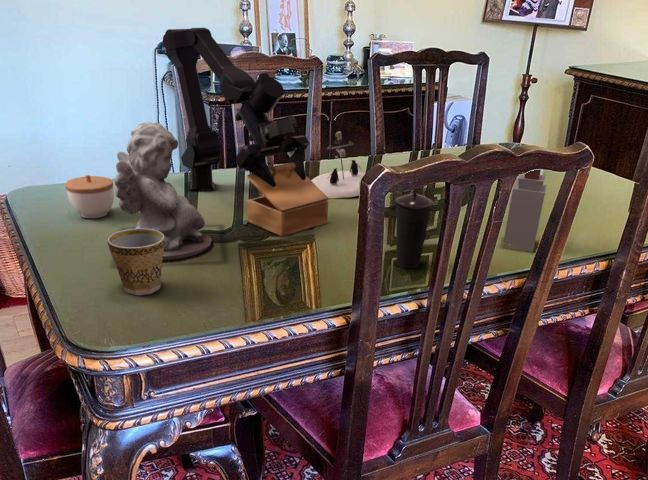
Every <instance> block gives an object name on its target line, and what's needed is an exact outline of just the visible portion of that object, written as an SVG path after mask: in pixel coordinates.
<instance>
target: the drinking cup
mask: <svg viewBox="0 0 648 480" xmlns="http://www.w3.org/2000/svg"><path fill="white" fill-rule="evenodd" d="M394 204H395V207H396V209H395V210H396V211H395V212H396V215H395V216H396V217H395V219H396V220H395V223H396V227H395V228H396V229H395V231H396V232H395V233H396V235H395V236H396V237H395V240H396V244H395V245H396V246H395V247H396V248H395V249H396V251H395V253H396V255H395V256H396V261H395V262H396V265H397V266H398V267H400V268H402V269H416V268H418V267H419V266H420V263H421V259H422V254H423V250H424V249H423V248H424V245H425V241H426V240H425V239H426V234H427V229H428V225H429V220H430V216H431V215H430V214H431V210H432V208H433V206H434V201H433V200H432V199H431V198H429V197H427V196H425V195H423V194H418V188H417V189H414V188H413V192H412V193H407V194H404V195H400V196H398V197H396V198H395V200H394Z"/></svg>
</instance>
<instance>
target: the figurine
mask: <svg viewBox="0 0 648 480" xmlns="http://www.w3.org/2000/svg"><path fill="white" fill-rule="evenodd" d="M334 136H335V137H336V138H335V145H336V144H338V145H337V146H331V145H328V146H327V145H325V144H322V146H323V147H324V148H326V151H330V150H335V151H336V152H337V153H338V154H339V157H340V165H341V170H340V171H338V168H337V167H336V168H333V171H331V172H327V173H323V174H320V175H316V177H314V178H312V179H310V180H311V181H312V182H313V183H314V184H315V185H316V186H317V187H318V188H319V189H320V190H321V191H322V192H323V193H324V194H325V195H326V196H327V197H328V198H329V199H340V198H341V199H342V198H352V197H359V182H360V179H361V177H362V176H363V175H364V174H365V173H364V172H362V171H359V169H360V170H362V167H360V165H359V164H358V163H357V161H356V159H351V164H350V168H349V170H344V166H343V165H344V164H343V159H345V157H347V154H346V150H345V148H347V147H350V146H354V144H355V143H353V140H352V141H350V140H348V141H347V142H348V143H347V144H342V143H343V135H342V131H336V133H335V134H334ZM341 144H342V145H341Z"/></svg>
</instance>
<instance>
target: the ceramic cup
mask: <svg viewBox="0 0 648 480" xmlns="http://www.w3.org/2000/svg"><path fill="white" fill-rule="evenodd" d="M106 242H107V245H108V248H109V249H108V250H109V252H110V255H111V257H112V259H113V262H114V264H115V266H116V270H117V272H118V275H119V278H120V281H121V284H122V287H123V289H124V291H125V293H127V294H131V295H134V296H146V295H151V294H153V293H155V292H157V291H159V290H160V289H161V283H162V269H163V262H162V259H163V253H164V235H163V233H161V232H159V231H157V230H153V229H146V228H136V227H135V228H127V229H122V230H118V231H116V232H114V233H112V234H110V235H109V236H108V237H107V238H106Z"/></svg>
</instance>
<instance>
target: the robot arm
mask: <svg viewBox="0 0 648 480" xmlns="http://www.w3.org/2000/svg"><path fill="white" fill-rule="evenodd" d="M162 45H163V47H164V49H165V53H166V57H167V59H168V60H169V61H170V62H171V64H172V65H173V66H174V68H175V69H176V72H177V76H178V82H179V86H180V90H181V95H182V100H183V104H184V108H185V113H186V118H187V123H188V131H187V133H186V138H185V144H186V148H185V150H184V152H183V154H182V155H181V157H180V159H181V163H182V166H183V167H186V168H189V170H190V180H191V182H190V185H189V190H190V191H193V192H195V191H216V190H215V189H216V187H215V182H214V180H213V167H212V166H214V165H219V162H220V157H221V150H222V149H221V147H222V145H221V142H220V138H219V133H218V131H217V130H213V128H212V127H211V126H210V125H209V121H208V117H207V116H208V115H207V113H206V108H205V103H204V98H203V97H204V96H203V93H202V88H201V83H200V78H199V73H198V69H197V68H198V67H197V63H198V61H199V57H201V58H202V60H203V61H204V63H205V64H206V65H207V67H209V69H210V70H211V72H212V73H213V74H214V75H215V77H216V78H217V80H218V82H219V83H218V84H219V91H220V93H221V94H222V96H223V98H224V99H225V101H226V102H227V103H228V104H229V105H238V104H241V106H240V107H239V108H236V114H235V121H236V122H240V121H242V122H243V124H244V126H245V129H246V130H247V132H248V134H249V136H248V137H247V139H248V140H249V141H248V142H253V143H251V144H244V145H242V147H241V148H240V150H239V151H238V153H237V154H236V156H235V163H236V165H237V167H238V169H239V170H242V169H243V170H244V171H245V172H249V173H250V174H254V175H256V176H258V177H259V178H261V179H262V180H263V181H265V182H266V183H268V184H269V185H270V186H272V187H275V186H276V183H275V180H274V178H273V176H272V174H271V172H270V170H271V169H270V168H269V166H268V165H267V162H266V158H267V157H271V156H276V155H282V154H283V156H284V157H285V158H287V161H286V162H287V163H291V162H294V163H295V166H296V167H295V169H294V171H295V172H296V173H297V174H298V176H299V177H300V178H301V179H302V180H305V179H306V176H307V175H306V168H305V162H304V155H305V152H306V151H307V150H308V147H309V146H310V144H311V143H310V141H309V139H308V138H307V136H306V135H303V134H302V135H295V136H291V137H290V139H289V140H288V141H287V143H284V144H283V142H285V141H286V140H287V136H288V135H290V134H294V133H295V130H297V129H298V127H299V126H298V125H299V124H298V122H297V119H296V117H294V116H295V115H292V114H291V115H287V116H286V117H283V119H277V120H270V118H269V116H268V114H269V113H271V112H272V111H273V110H274V109H275V107H276V106H277V104H278V103H279V102H280V100H281V98H282V97H283V95H284V92H285V90H284V89H285V88H284V87H283V85H282V83H281V82H279V81H278V80H277V79H276V78H274V77H273V76H270V75H269V73H268V72H260V73H259V74H258V76H257V79H256V81H255V80H254V78H253V77H252V76H251V75H250V74H248V72H246V71H244V70H242V69H241V68H239V67H237V66H236V65H235V64H234V63H233V62H232V61H231V59H230V58H229V57H228V55H227V54H226V53H225V51H224V50H223V49H222V47H220V45H219V44H218V43H217V41H216V40H215V38H214V37H213V35H212V32H211V30H210V29H209V28H206V27H191V28H171V29H170V28H169V29H166V31H165V32H164V35H163V36H162Z"/></svg>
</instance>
